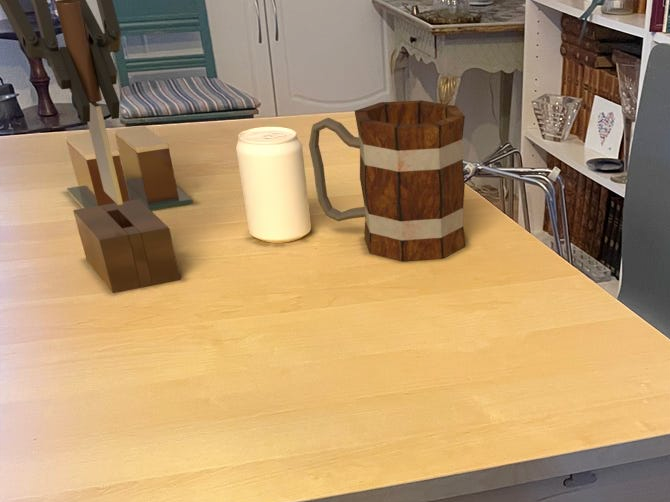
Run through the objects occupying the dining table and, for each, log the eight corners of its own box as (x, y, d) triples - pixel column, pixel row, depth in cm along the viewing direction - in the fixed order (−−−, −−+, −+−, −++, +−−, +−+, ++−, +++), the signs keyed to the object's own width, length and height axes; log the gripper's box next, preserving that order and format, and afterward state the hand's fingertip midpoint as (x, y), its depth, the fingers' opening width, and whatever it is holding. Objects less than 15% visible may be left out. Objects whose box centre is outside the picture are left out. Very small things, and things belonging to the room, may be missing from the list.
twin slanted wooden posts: (67, 192, 136) (52, 134, 131) (162, 178, 142) (151, 122, 137) (92, 220, 127) (77, 159, 122) (192, 203, 133) (181, 144, 128)
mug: (475, 228, 126) (475, 102, 116) (455, 265, 116) (453, 131, 106) (334, 219, 128) (322, 95, 118) (303, 254, 118) (287, 122, 108)
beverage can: (237, 233, 124) (221, 133, 116) (289, 219, 128) (276, 122, 120) (271, 250, 119) (257, 147, 111) (323, 235, 124) (313, 135, 115)
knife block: (86, 260, 116) (72, 209, 112) (150, 248, 119) (139, 199, 115) (113, 293, 109) (99, 240, 105) (180, 279, 112) (169, 227, 108)
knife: (96, 192, 110) (48, -3, 97) (116, 189, 111) (72, -4, 98) (110, 206, 106) (62, 6, 93) (131, 203, 107) (87, 4, 94)
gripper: (93, -72, 106) (170, 125, 106) (-55, -66, 99) (27, 143, 100) (93, -130, 99) (175, 81, 99) (-66, -128, 93) (22, 97, 93)
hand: (101, 111), depth 100 cm, fingers closed on knife, 2 cm apart
